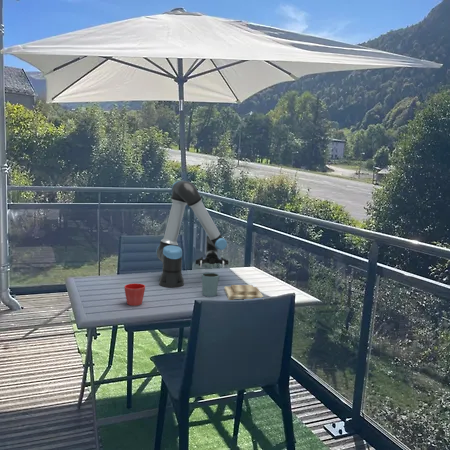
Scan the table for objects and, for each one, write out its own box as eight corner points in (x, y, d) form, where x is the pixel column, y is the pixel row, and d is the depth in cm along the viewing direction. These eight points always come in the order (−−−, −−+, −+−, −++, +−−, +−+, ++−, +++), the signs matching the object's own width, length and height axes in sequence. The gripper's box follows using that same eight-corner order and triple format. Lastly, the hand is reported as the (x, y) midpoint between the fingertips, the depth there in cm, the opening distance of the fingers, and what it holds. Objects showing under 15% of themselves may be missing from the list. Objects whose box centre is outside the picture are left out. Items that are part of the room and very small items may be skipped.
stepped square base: (228, 299, 254) (229, 292, 254) (224, 289, 274) (224, 283, 274) (263, 300, 257) (263, 293, 257) (256, 290, 277) (256, 283, 276)
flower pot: (121, 301, 242) (122, 284, 240) (141, 299, 247) (141, 282, 246) (127, 307, 233) (127, 289, 231) (147, 305, 238) (147, 287, 236)
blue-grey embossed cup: (199, 296, 259) (200, 275, 257) (202, 291, 269) (203, 271, 267) (216, 297, 257) (217, 277, 256) (219, 292, 267) (220, 273, 265)
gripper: (230, 263, 293) (232, 271, 272) (192, 262, 292) (191, 271, 271) (231, 252, 292) (233, 259, 271) (192, 251, 291) (191, 258, 270)
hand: (212, 265), depth 271 cm, fingers open, 13 cm apart
